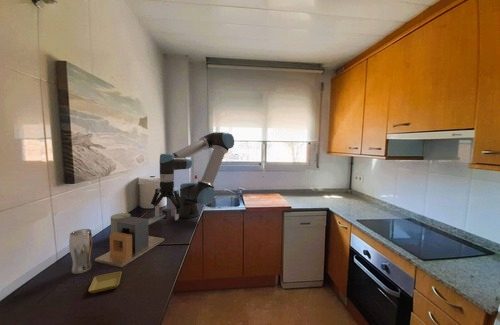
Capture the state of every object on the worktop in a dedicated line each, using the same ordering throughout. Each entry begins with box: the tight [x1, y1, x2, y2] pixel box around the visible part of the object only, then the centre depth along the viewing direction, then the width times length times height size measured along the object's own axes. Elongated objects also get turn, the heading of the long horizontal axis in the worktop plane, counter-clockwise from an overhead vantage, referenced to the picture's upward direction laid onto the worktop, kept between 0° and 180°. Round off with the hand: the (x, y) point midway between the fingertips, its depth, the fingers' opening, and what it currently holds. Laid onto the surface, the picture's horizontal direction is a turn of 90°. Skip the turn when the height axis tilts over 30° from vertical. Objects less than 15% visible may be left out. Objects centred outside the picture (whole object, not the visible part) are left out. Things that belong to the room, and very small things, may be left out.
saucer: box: [87, 271, 123, 294], centre depth 74 cm, size 9×9×2 cm
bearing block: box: [94, 216, 165, 268], centre depth 99 cm, size 26×14×14 cm, turn 164°
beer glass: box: [68, 228, 93, 275], centre depth 82 cm, size 7×7×15 cm
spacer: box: [109, 232, 132, 258], centre depth 93 cm, size 3×9×9 cm, turn 74°
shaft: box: [147, 208, 172, 226], centre depth 111 cm, size 27×3×5 cm, turn 164°
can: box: [109, 212, 132, 234], centre depth 112 cm, size 9×9×12 cm
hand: (166, 218), depth 122 cm, fingers open, 12 cm apart
